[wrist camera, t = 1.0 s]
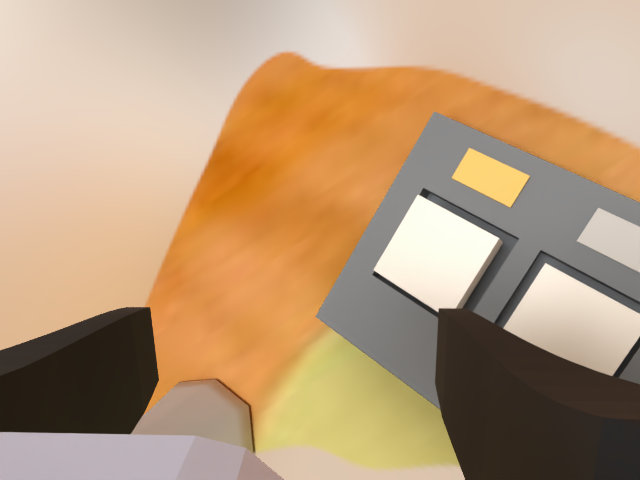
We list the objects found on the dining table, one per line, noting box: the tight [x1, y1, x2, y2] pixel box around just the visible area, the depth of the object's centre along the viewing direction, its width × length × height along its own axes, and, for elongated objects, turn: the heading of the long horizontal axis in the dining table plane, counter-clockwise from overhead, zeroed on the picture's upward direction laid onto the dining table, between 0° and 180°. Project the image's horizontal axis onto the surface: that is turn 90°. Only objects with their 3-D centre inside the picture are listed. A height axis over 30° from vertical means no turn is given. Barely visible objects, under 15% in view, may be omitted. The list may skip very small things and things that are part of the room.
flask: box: [131, 379, 253, 453], centre depth 25 cm, size 7×7×10 cm
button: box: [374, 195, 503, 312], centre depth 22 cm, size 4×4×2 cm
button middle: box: [503, 263, 640, 376], centre depth 19 cm, size 4×4×2 cm
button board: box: [316, 112, 640, 410], centre depth 21 cm, size 20×12×2 cm, turn 58°
